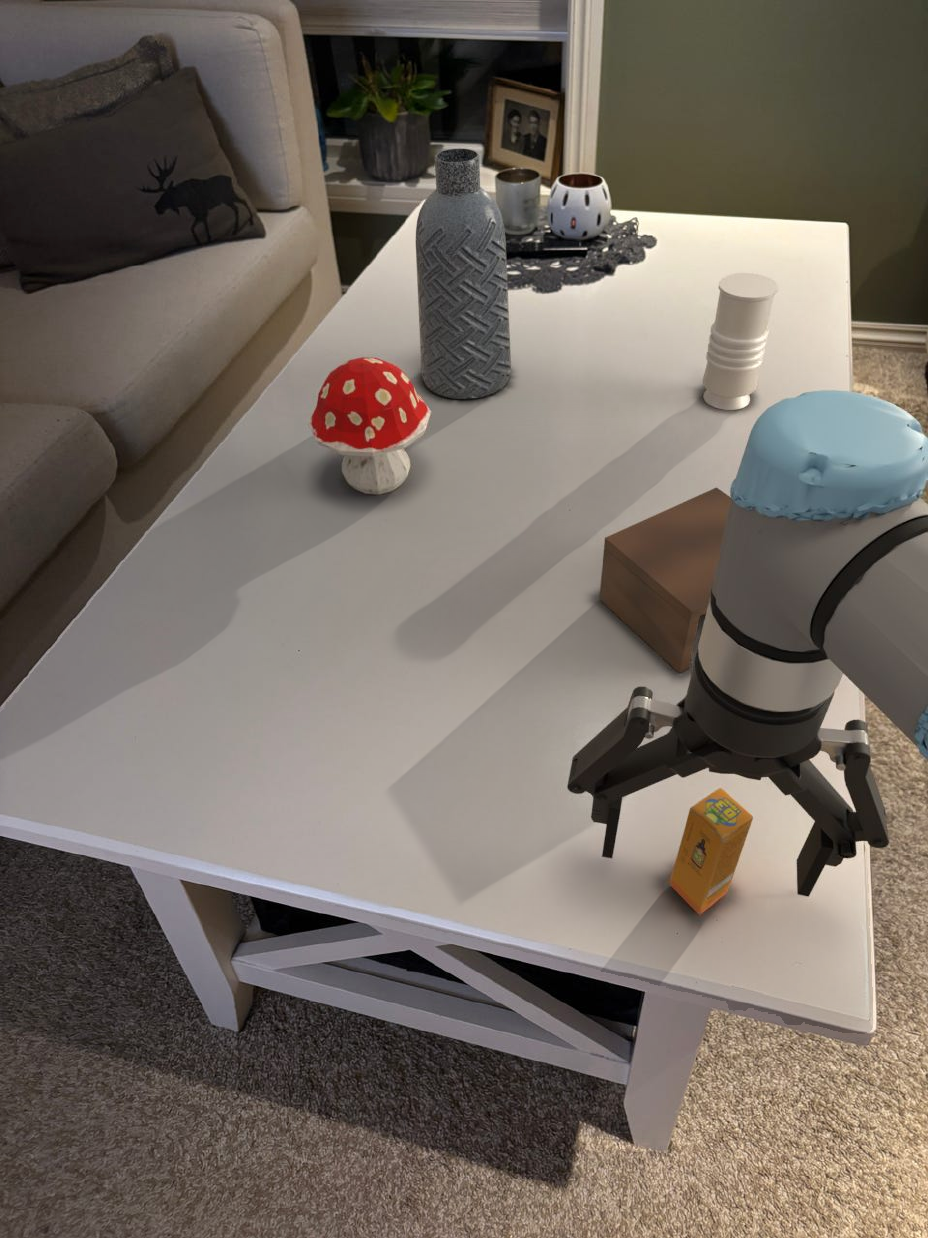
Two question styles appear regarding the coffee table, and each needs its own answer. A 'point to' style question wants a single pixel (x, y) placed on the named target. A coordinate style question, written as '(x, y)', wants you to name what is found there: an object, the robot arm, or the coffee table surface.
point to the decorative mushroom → (369, 422)
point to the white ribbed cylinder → (738, 339)
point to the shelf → (666, 573)
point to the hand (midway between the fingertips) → (703, 859)
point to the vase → (462, 283)
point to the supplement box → (710, 849)
